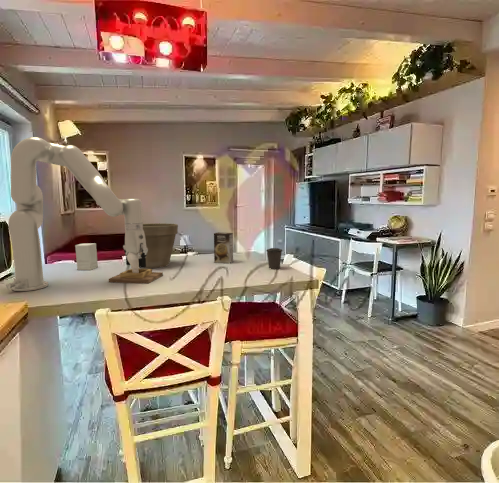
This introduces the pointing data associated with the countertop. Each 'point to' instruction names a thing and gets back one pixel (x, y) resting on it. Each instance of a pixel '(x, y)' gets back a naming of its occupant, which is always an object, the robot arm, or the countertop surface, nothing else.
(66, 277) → the countertop surface
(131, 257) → the lightbulb
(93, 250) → the supplement box
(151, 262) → the plant pot
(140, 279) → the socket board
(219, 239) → the coffee box
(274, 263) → the coffee cup
